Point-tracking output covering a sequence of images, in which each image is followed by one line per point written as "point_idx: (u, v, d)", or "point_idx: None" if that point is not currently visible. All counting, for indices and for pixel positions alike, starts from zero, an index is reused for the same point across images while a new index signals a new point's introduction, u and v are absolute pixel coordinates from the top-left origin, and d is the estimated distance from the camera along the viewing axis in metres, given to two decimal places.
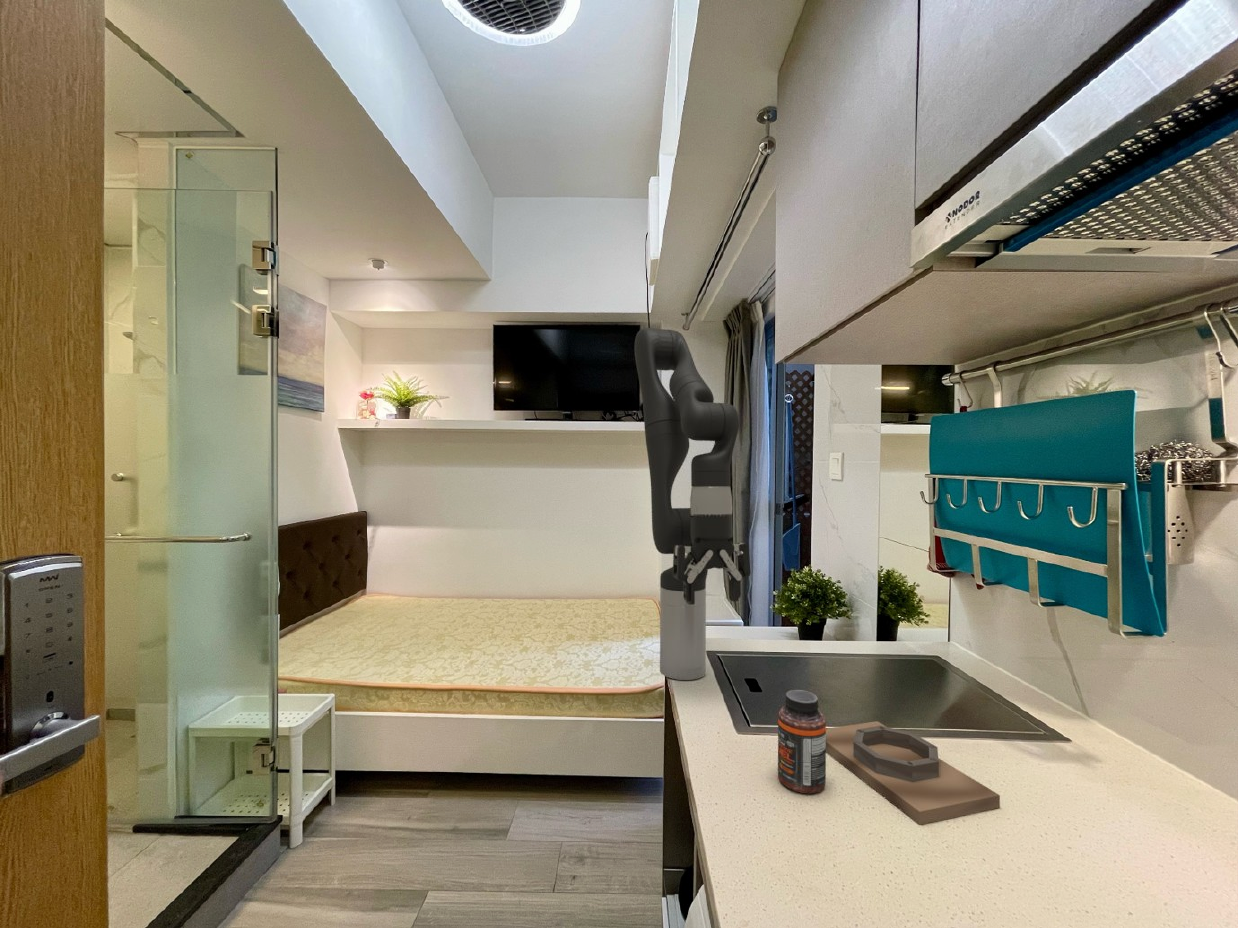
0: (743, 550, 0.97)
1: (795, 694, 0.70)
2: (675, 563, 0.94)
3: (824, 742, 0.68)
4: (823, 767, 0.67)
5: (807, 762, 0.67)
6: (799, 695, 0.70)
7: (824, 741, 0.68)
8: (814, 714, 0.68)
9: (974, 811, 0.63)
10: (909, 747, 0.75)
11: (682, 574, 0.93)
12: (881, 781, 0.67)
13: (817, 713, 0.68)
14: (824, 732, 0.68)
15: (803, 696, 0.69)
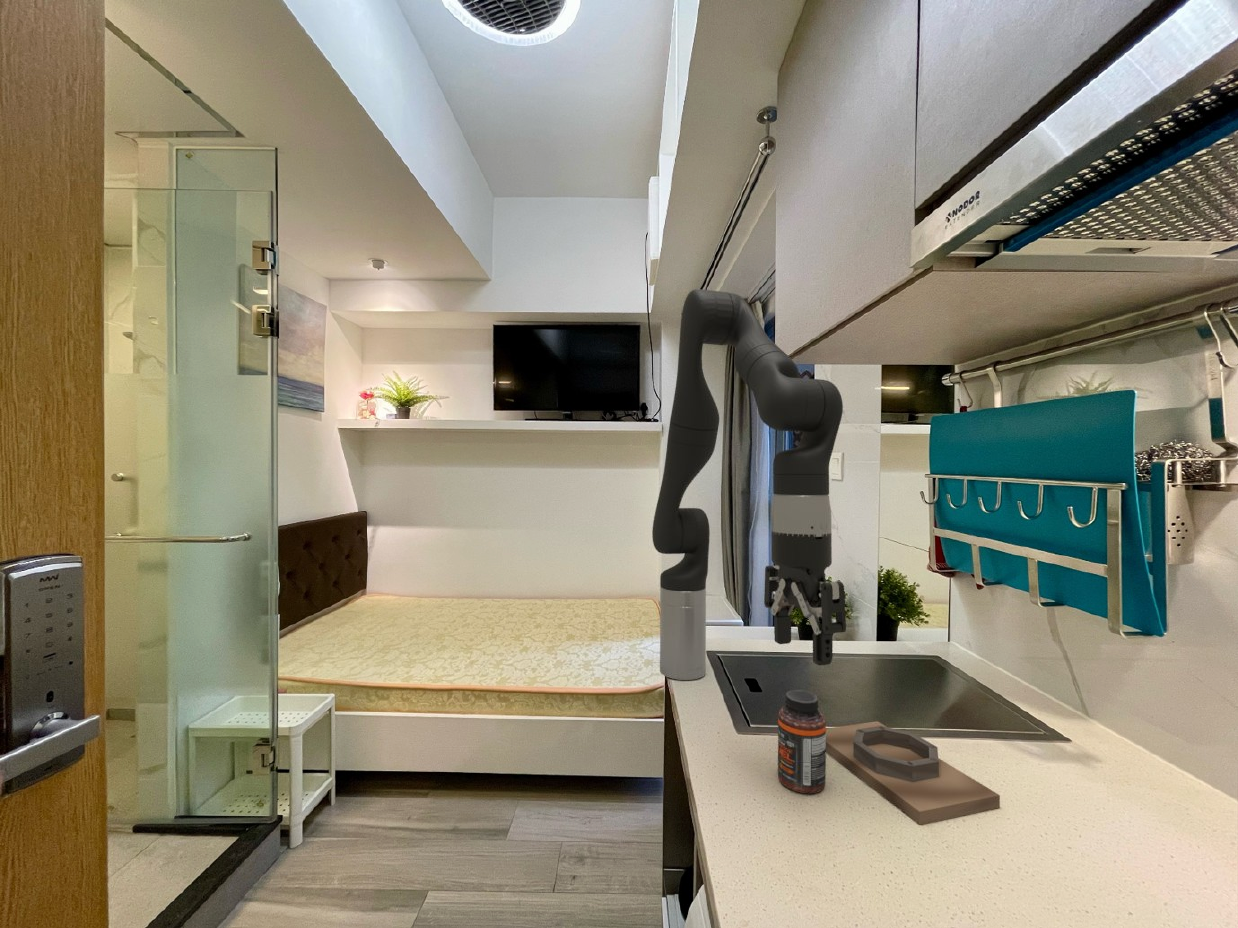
0: None
1: (795, 694, 0.70)
2: (836, 610, 0.63)
3: (824, 742, 0.68)
4: (823, 767, 0.67)
5: (807, 762, 0.67)
6: (799, 695, 0.70)
7: (824, 741, 0.68)
8: (814, 714, 0.68)
9: (974, 811, 0.63)
10: (909, 747, 0.75)
11: None
12: (881, 781, 0.67)
13: (817, 713, 0.68)
14: (824, 732, 0.68)
15: (803, 696, 0.69)
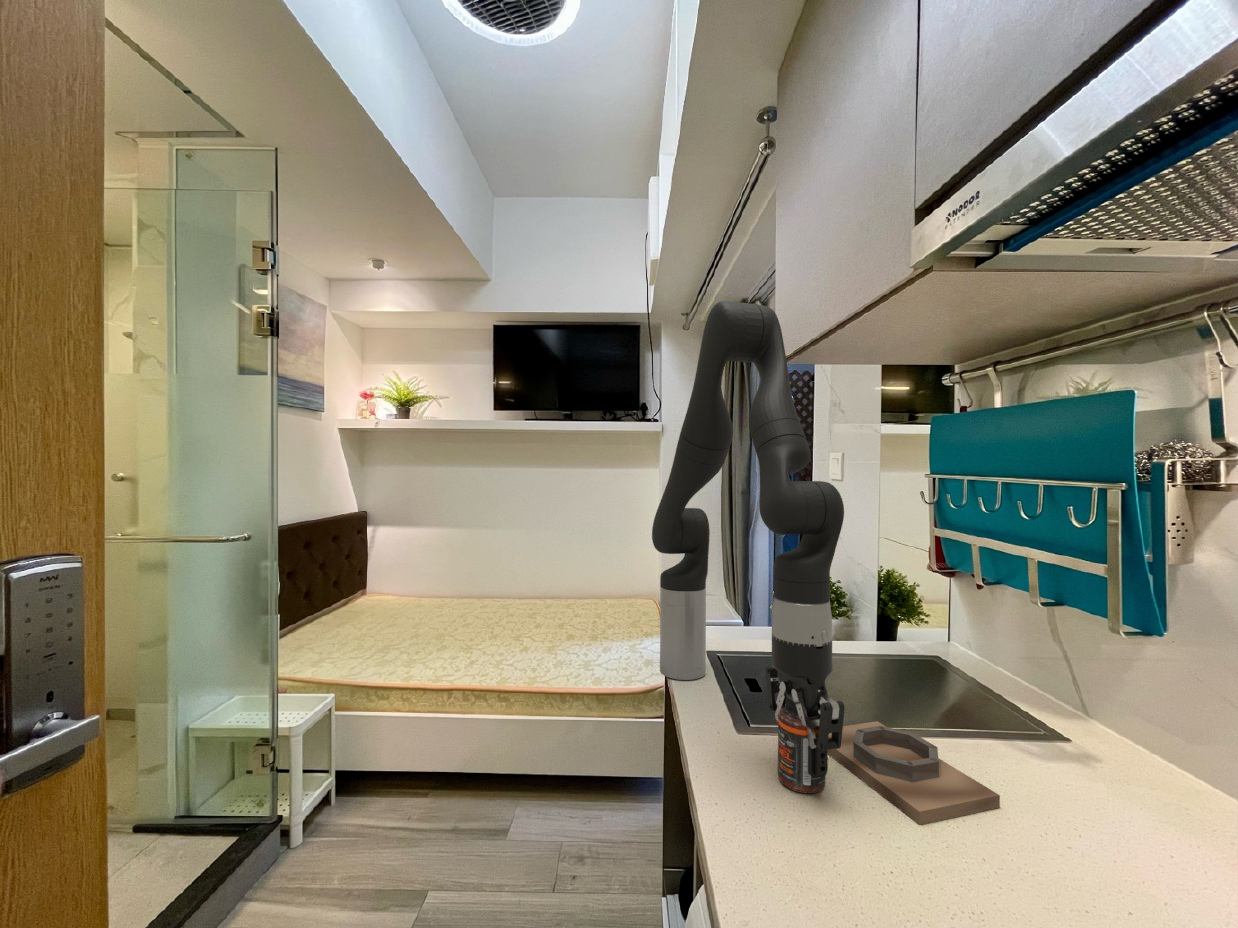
0: None
1: None
2: (833, 730, 0.63)
3: None
4: None
5: (807, 762, 0.67)
6: None
7: None
8: None
9: (974, 811, 0.63)
10: (909, 747, 0.75)
11: None
12: (881, 781, 0.67)
13: (817, 713, 0.68)
14: None
15: None
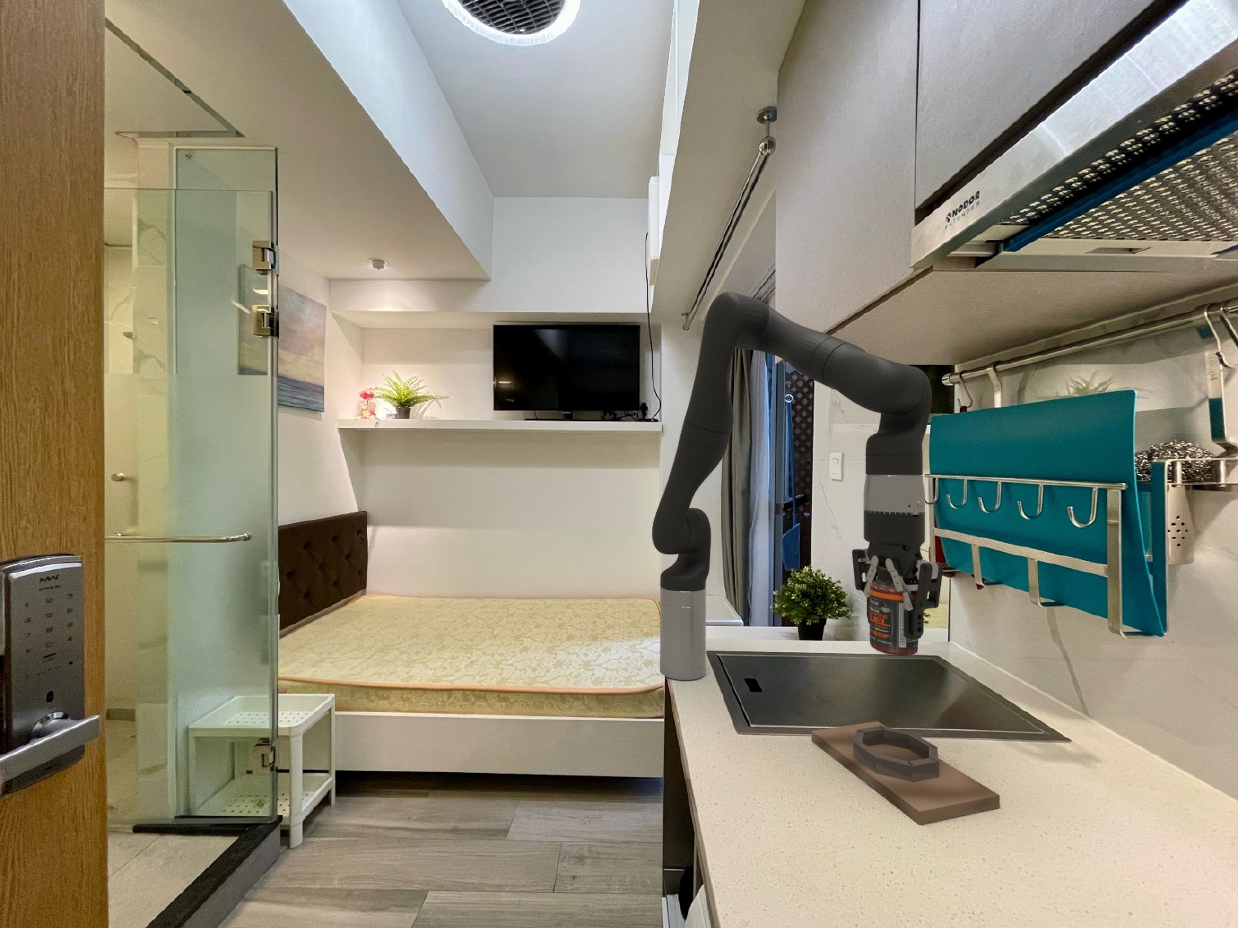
0: None
1: None
2: (932, 589, 0.67)
3: None
4: None
5: (902, 626, 0.70)
6: None
7: None
8: None
9: (974, 811, 0.63)
10: (909, 747, 0.75)
11: None
12: (881, 781, 0.67)
13: None
14: None
15: None
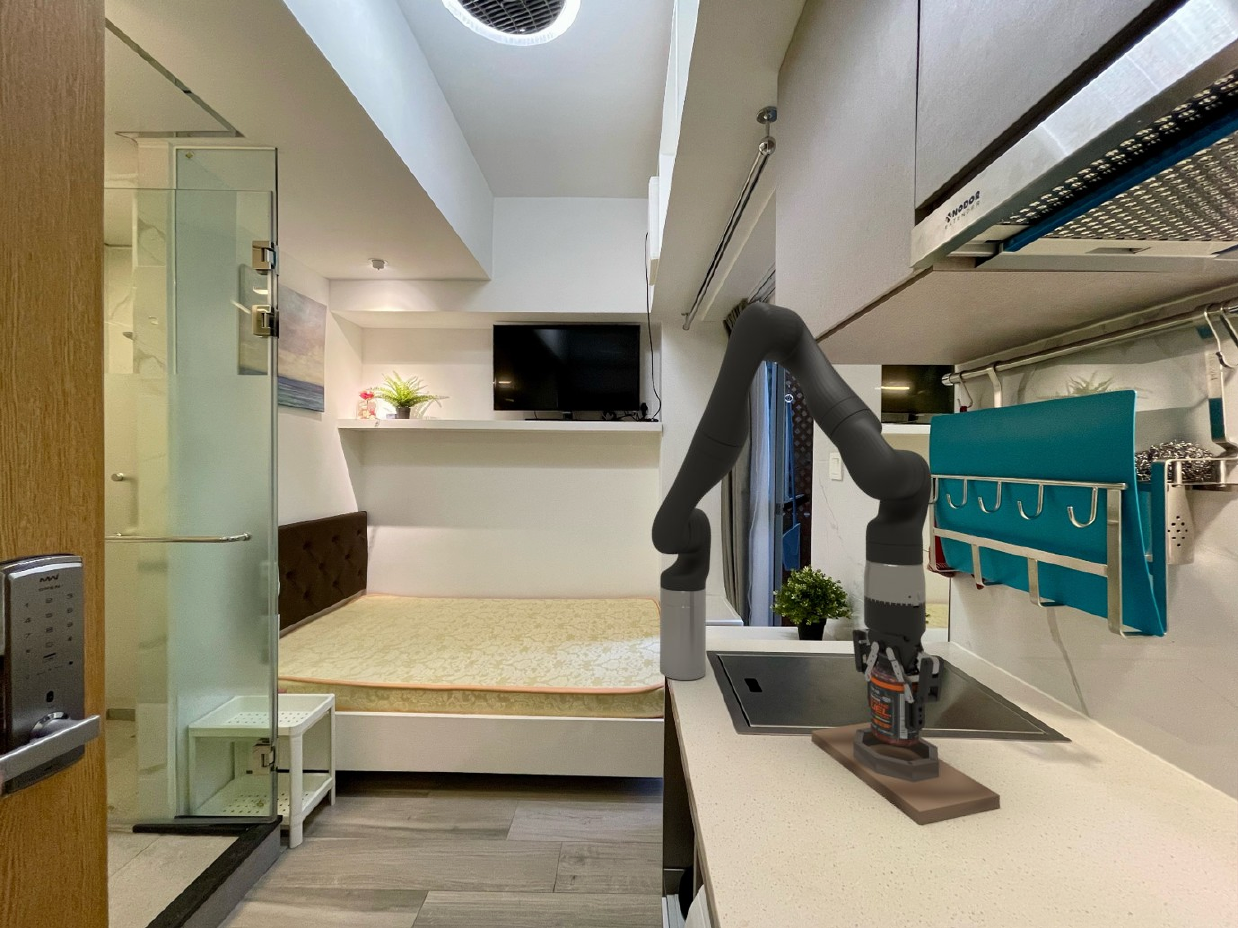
0: None
1: None
2: (933, 684, 0.66)
3: None
4: None
5: (903, 717, 0.70)
6: None
7: None
8: None
9: (974, 811, 0.63)
10: (909, 747, 0.75)
11: None
12: (881, 781, 0.67)
13: None
14: None
15: None
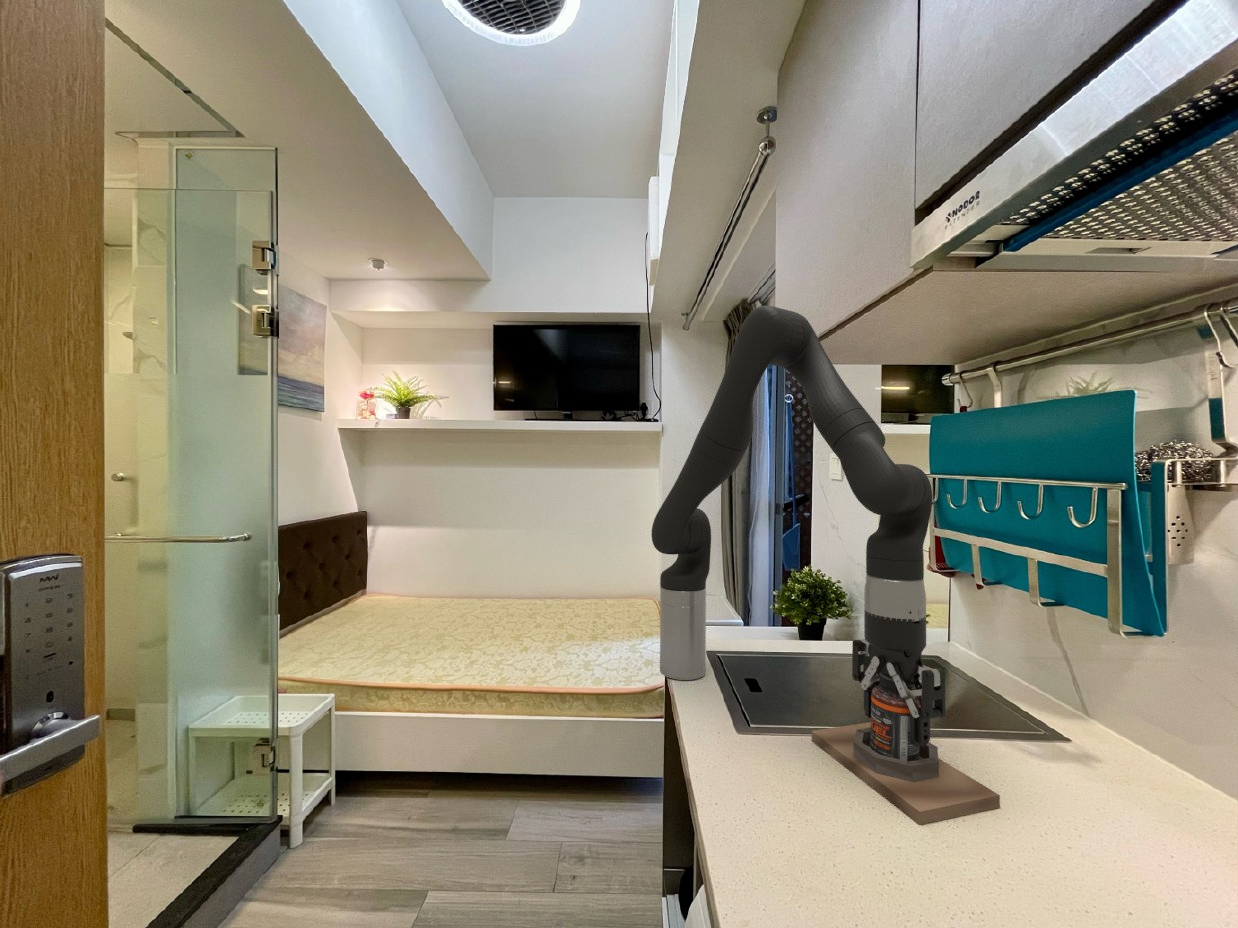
0: None
1: None
2: (937, 697, 0.66)
3: None
4: None
5: (904, 739, 0.70)
6: None
7: None
8: None
9: (974, 811, 0.63)
10: None
11: None
12: (881, 781, 0.67)
13: None
14: None
15: None
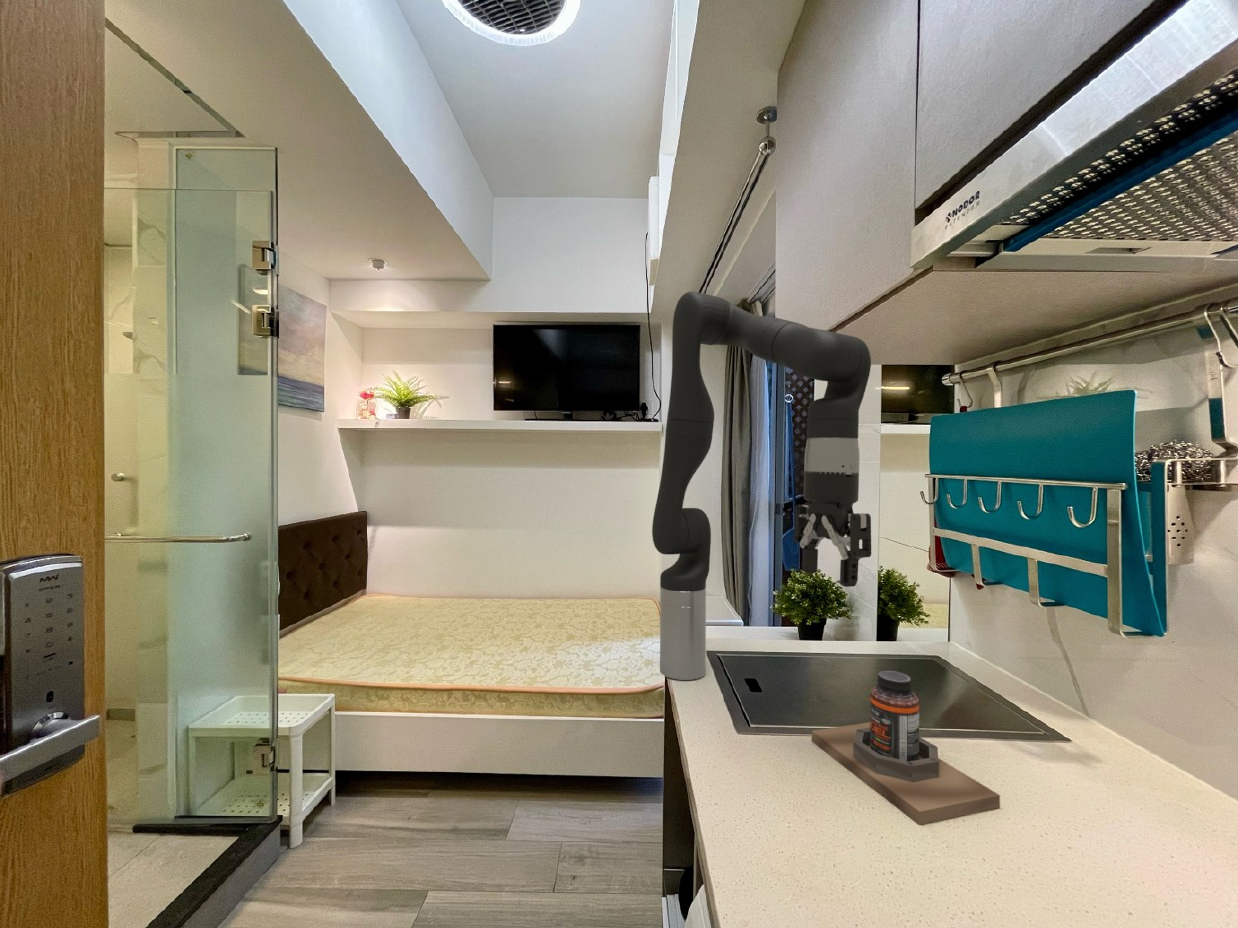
0: None
1: (887, 674, 0.73)
2: (863, 537, 0.72)
3: (918, 720, 0.71)
4: (917, 743, 0.70)
5: (903, 739, 0.70)
6: (892, 675, 0.73)
7: (918, 719, 0.71)
8: (908, 692, 0.71)
9: (974, 811, 0.63)
10: None
11: None
12: (881, 781, 0.67)
13: (910, 692, 0.71)
14: (918, 710, 0.71)
15: (896, 676, 0.72)
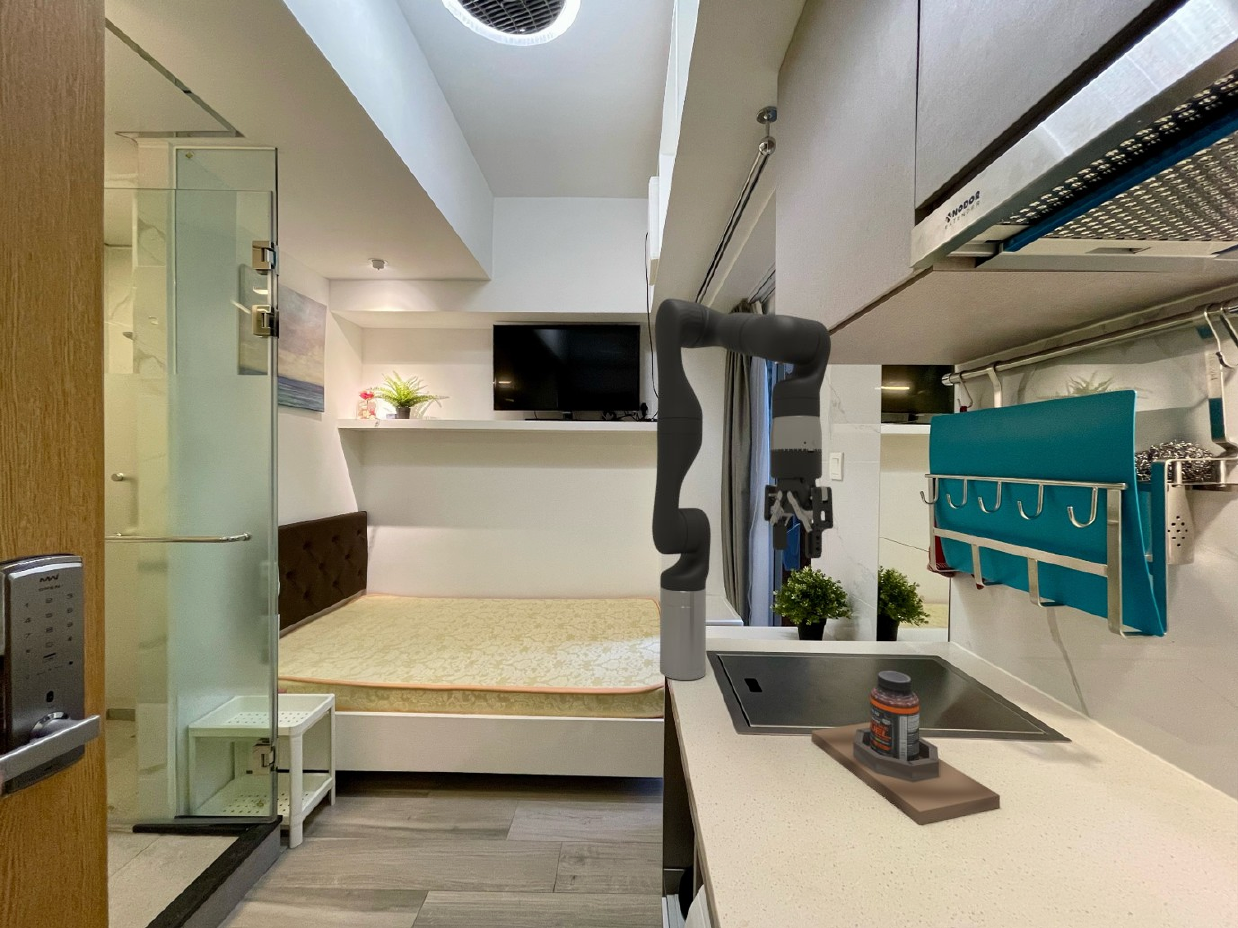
0: None
1: (887, 674, 0.73)
2: (824, 509, 0.75)
3: (918, 720, 0.71)
4: (917, 744, 0.70)
5: (903, 739, 0.70)
6: (892, 675, 0.72)
7: (918, 719, 0.71)
8: (908, 693, 0.71)
9: (974, 811, 0.63)
10: None
11: None
12: (881, 781, 0.67)
13: (910, 692, 0.71)
14: (918, 710, 0.71)
15: (896, 676, 0.72)
